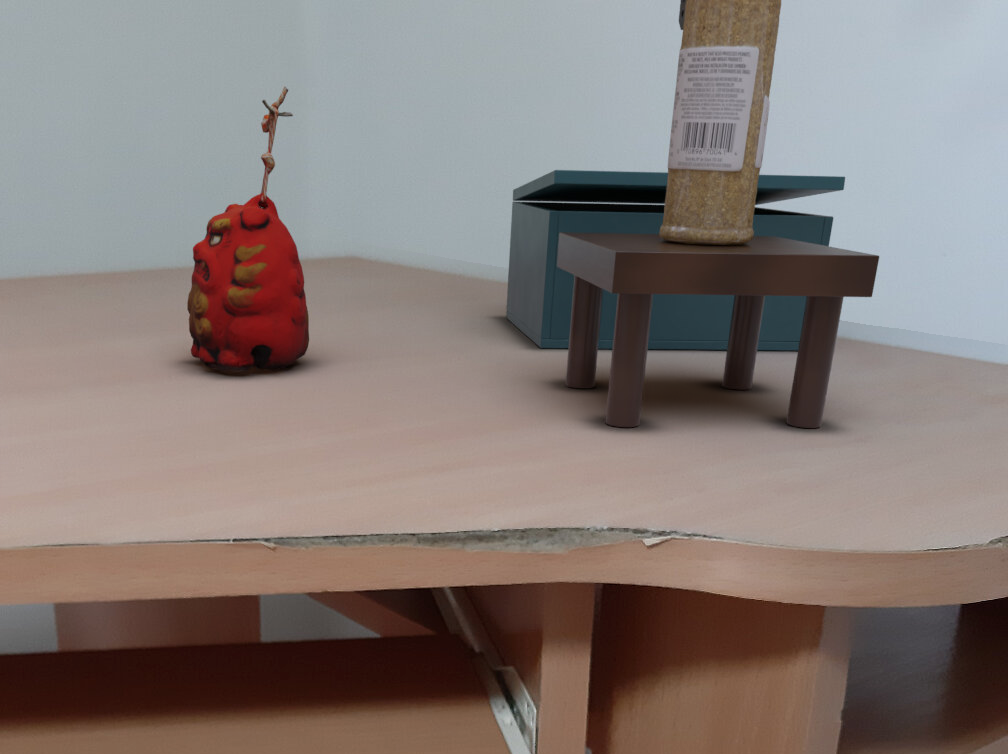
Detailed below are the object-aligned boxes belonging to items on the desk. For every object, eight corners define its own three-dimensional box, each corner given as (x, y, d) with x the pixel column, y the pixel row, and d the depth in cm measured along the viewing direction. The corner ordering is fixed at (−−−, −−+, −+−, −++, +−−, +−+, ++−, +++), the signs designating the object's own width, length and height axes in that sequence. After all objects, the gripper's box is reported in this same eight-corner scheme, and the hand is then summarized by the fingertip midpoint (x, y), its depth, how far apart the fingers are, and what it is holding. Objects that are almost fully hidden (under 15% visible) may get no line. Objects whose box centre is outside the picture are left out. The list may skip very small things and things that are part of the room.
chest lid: (844, 190, 67) (845, 176, 67) (554, 183, 66) (554, 169, 66) (752, 205, 82) (753, 194, 81) (512, 200, 80) (513, 189, 80)
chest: (811, 351, 72) (834, 216, 69) (540, 348, 71) (549, 210, 67) (736, 320, 85) (752, 206, 82) (505, 317, 84) (512, 201, 80)
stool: (752, 381, 61) (774, 236, 58) (847, 432, 50) (879, 255, 47) (548, 380, 60) (559, 232, 57) (599, 431, 49) (615, 251, 46)
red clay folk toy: (174, 357, 64) (157, 83, 58) (283, 351, 67) (277, 89, 62) (215, 381, 58) (200, 76, 52) (332, 372, 61) (331, 84, 55)
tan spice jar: (769, 244, 52) (815, -75, 47) (720, 248, 49) (764, -92, 44) (688, 237, 55) (724, -63, 50) (637, 241, 52) (670, -78, 47)
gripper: (837, -347, 63) (779, 93, 72) (621, -358, 62) (590, 90, 71) (900, -409, 56) (828, 86, 65) (659, -422, 55) (619, 83, 64)
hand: (704, 88), depth 68 cm, fingers closed
